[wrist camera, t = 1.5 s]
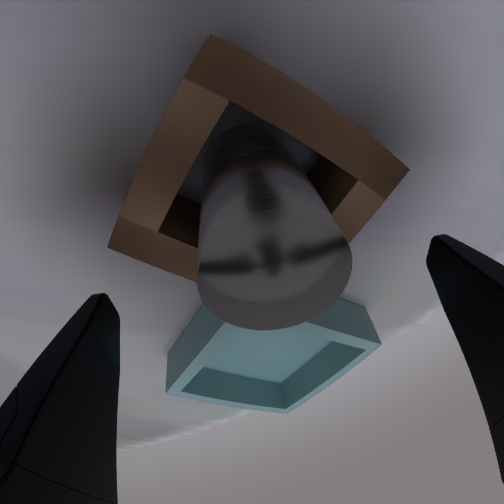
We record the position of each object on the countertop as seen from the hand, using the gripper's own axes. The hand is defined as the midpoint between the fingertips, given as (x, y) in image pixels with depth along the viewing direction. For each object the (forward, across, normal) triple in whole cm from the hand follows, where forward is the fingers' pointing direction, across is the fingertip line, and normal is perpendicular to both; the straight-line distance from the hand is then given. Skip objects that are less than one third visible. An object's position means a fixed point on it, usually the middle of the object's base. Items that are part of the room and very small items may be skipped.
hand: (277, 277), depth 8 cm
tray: (+7, 0, +12) cm, 14 cm away
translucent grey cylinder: (+8, 0, 0) cm, 8 cm away
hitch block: (+8, 0, 0) cm, 8 cm away
